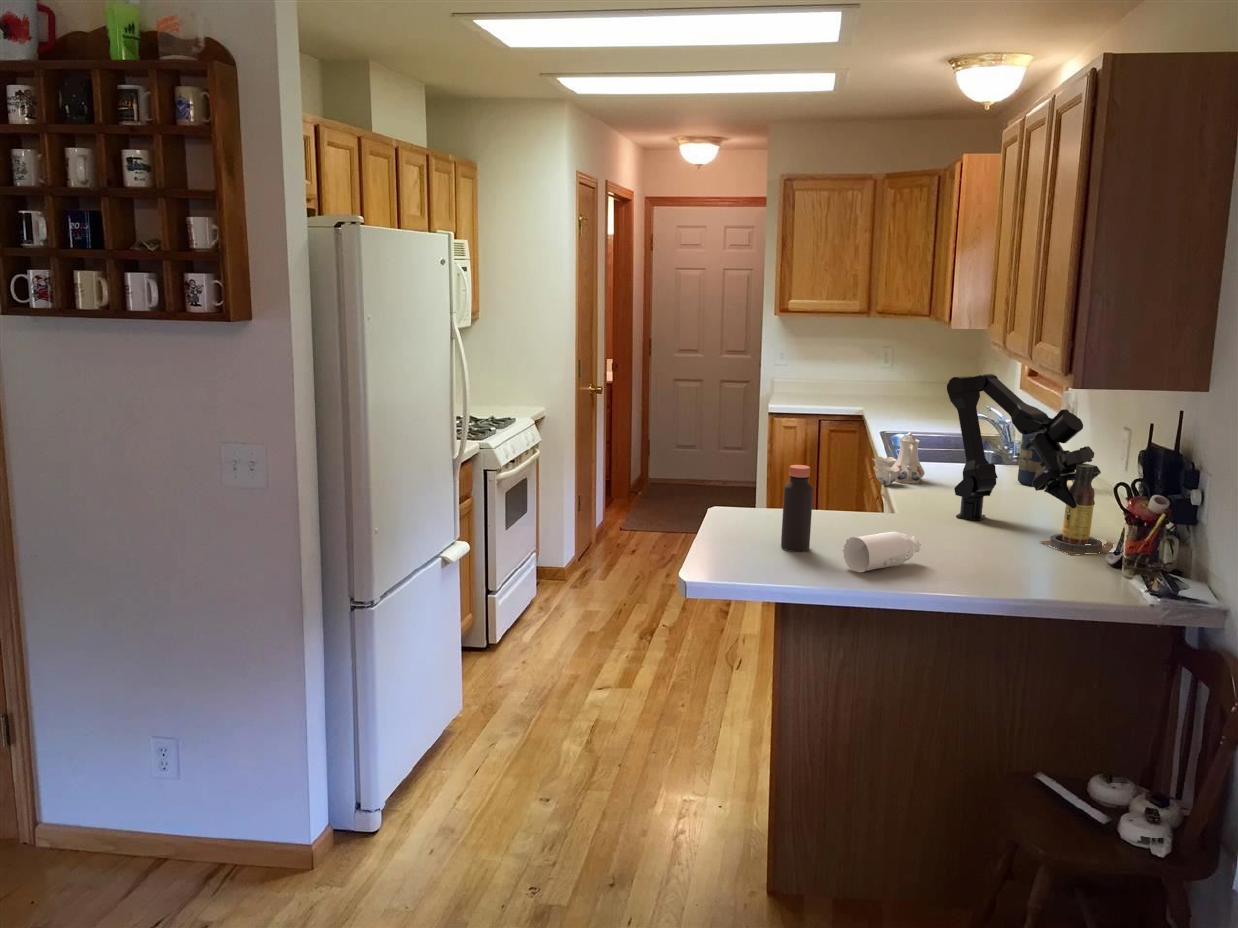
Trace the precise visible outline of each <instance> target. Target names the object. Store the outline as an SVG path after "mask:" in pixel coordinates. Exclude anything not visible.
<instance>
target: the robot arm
mask: <svg viewBox="0 0 1238 928" xmlns="http://www.w3.org/2000/svg"><path fill="white" fill-rule="evenodd" d="M946 392H947V395H948V399H949V401H950V403H952V405H953V406H954V407H955V409H956V410H957V415H958V421H959V426H960V433H961V438H962V443H963V450H964V455H965V461H966V462H965V464H964V467H963V470H962V480H961V481H960V482H959V483H958V484H956V485H955V486H954V489H953V491H954V494H955V496H956V497H957V496H958V497H961V500H960V509H959V510H960V511H959V512H960V513H958V514H956V515H955V518H957V519H958V518H959V519H965V520H971V521H977V522H978V521H981V520H983V519H984V518H986V516H987V515H986V514H983V508H984V507H983V506H984V497H991V495H992V492H993V489H994V488H995V486H996V485H997V479H998V475H997V473H996V471H997V470H996V465H995V463H993V462H992V463H990V462H989V461H988V460H987V458H986V455H985V450H984V449H985V448H984V443H983V438H982V437H983V436H982V433H981V431H982V430H981V428H980V427H981V425H980V421H979V420H980V419H979V416H978V410H977V407H978V403H979V401H980V398H981V392H984V393H985V394H986V395H987V396H988V397H989V398H990V399H992V400H993V401H994V402H995V403H996V404H997V405H998V406H999V407H1000V408H1002V410H1004V411H1005V412H1006V413H1007V414H1008V415H1009V417H1010V418H1011V423H1012V424H1013V426H1014V427H1015V429H1016V430H1017V431H1018V432H1019V434H1021V435H1022V434H1024V435H1028V434H1037V435H1036V436H1035V437H1034V438H1031V439H1027V444H1026V447H1025V448H1026V449H1035V450H1036V452H1037V453H1038V455H1039V457H1040V458H1041V460H1042V463H1041V464H1040V465H1041V467H1046V468H1047V470H1044V471H1043V472H1041V473H1040V474H1039V475H1038V476H1037V477H1035V478H1034V479H1033V484H1032V485H1033V489H1034V490H1035V491H1038V492H1039V491H1043V492H1044V493H1047V494H1049V495H1051V496H1053V497H1054V498H1056V499H1058V500H1059V501H1061V502H1062V503H1064V504H1065V505H1066V504H1067V505H1068V506H1070V507H1071V508H1075V507H1077V505H1076V503H1075V500H1074V498H1073V497H1072V495H1071V493H1070V491H1069V490H1070V489H1069V487H1068V482H1070V481H1071V482H1072V484H1073V483H1074V479H1075V474H1076V470H1075V468H1076V464H1079V463H1084V464H1086V463H1087V462H1088V463H1091V462H1093V458H1095V452H1094V450H1093V449H1092V448H1091V446H1089V445H1088V446H1086V445H1085V446H1084V447H1080V448H1079V449H1076V450H1072V451H1070V450H1064V448H1063V447H1062V445H1061V444H1067V443H1068V442H1069V441H1070V440H1072V439H1073V438H1074V437H1076V435H1077V434H1078V433H1080V432H1081V431H1082V430H1083V429H1084V424H1083V421H1082V419H1081V418H1079V417H1078V416H1077V415H1076V414H1074V413H1072V412H1070V411H1069V409H1067V408H1065V409H1064V408H1062V409H1061V410H1059V412H1057V414H1055V416H1054V417H1053V418H1051V417H1049V416H1048V414H1047V413H1046V412H1045V411H1043V410H1041V409H1039V408H1038V407H1035V406H1033V405H1030V404H1028V403H1026V402H1024V401H1023V400H1022V399H1021V398H1020V397H1019V396H1018V395H1016V394H1015V392H1013V391H1012V390H1011V389H1010V388H1008V387H1007V386H1006V385H1005V384H1004V383H1003V382H1002V381H1001V380H999V378H998V376H997V375H996V374H994V373H984V374H979V375H976V376H953V377H951V378H950V379H949V381H948V383H947V384H946ZM1092 465H1093V464H1092ZM1093 466H1094V470H1093V473H1092V479H1091V481H1092V482H1093V480H1094V479H1095V478H1096V477H1098V476H1099V475H1101V474H1102V472H1101V470H1100V469H1099V467H1098V465H1095V464H1094V465H1093ZM1092 482H1091V484H1092ZM1045 484H1047V485H1045ZM1032 485H1031V486H1032ZM1094 505H1096V503H1095V501H1094Z"/></svg>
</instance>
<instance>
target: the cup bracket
mask: <svg viewBox="0 0 1238 928" xmlns="http://www.w3.org/2000/svg"><path fill="white" fill-rule="evenodd" d="M1062 537H1063V535H1062V533H1058V534H1056V533H1055V534H1053V535H1050V539H1049V540H1039V541H1040V542H1042V543H1044V544H1047V545H1050V546H1052V547H1055V548H1057V549H1059V550H1061V551H1063V552H1062V553H1064V552H1066V553H1068V554H1067V555H1069V554H1085V553H1099V552H1100V553H1106V554H1108V553H1107V552H1109V551H1110V550H1111V549H1112V548H1113V544H1114V542H1112V541H1109V540H1106V541H1107V543H1106V544H1104V545H1103V546H1102V542H1101V541H1100V540H1097V539H1095V538H1096V537H1095V538H1094V537H1091V536H1090V537H1089V541H1088V543H1087V544H1091V545H1077V544H1070V543H1066V542H1064V541H1063V540H1062ZM1044 544H1043V545H1044ZM1104 546H1105V547H1104ZM1059 550H1058V551H1059ZM1061 551H1060V552H1061ZM1066 553H1065V554H1066Z"/></svg>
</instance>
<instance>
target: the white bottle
mask: <svg viewBox="0 0 1238 928" xmlns="http://www.w3.org/2000/svg"><path fill="white" fill-rule="evenodd" d="M920 551H921V543H920V541H919V540H918V539H917V538H916V537H915V536H914V535H912V537H910V536H908V535H907V534H905V533H902V532H898V531H888V532H881V533H876V534H869V535H868V534H867V535H861V536H851V537H849V538H848V539H846V540H845V544H844V545H843V549H842V553H843V559H844V562H845V564H846V565H847V567H848V568H849V569H850V571H852V572H857V573H864V572H867V571H872V570H878V569H883V568H890V567H899V566H902V564H904V563H906V562H907V561H909V560H910V559H911V558H912V557H913V556H914V554H915V553H919V552H920Z"/></svg>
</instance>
